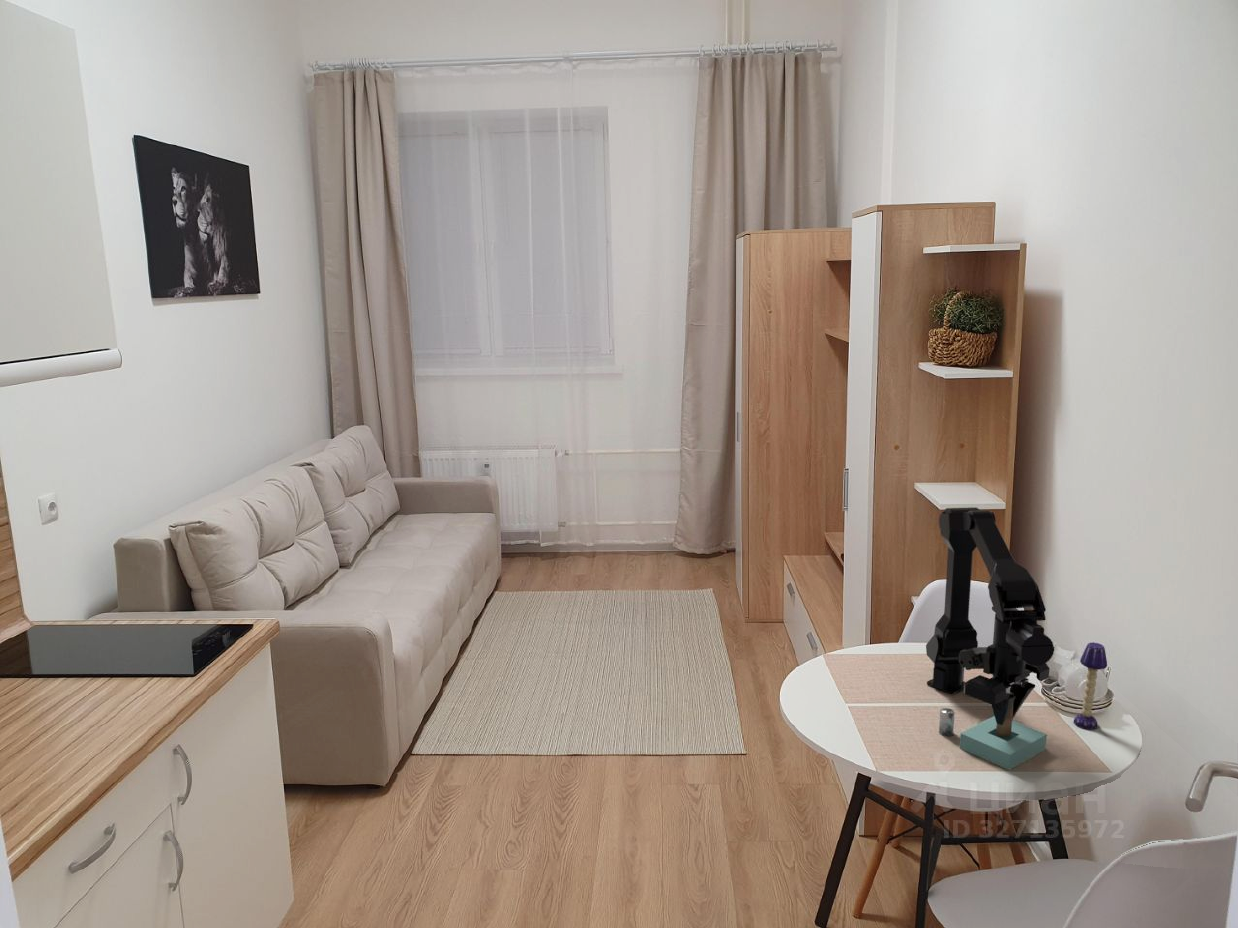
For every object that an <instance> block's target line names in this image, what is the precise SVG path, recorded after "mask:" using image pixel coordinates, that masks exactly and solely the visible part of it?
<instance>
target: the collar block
mask: <svg viewBox="0 0 1238 928" xmlns="http://www.w3.org/2000/svg"><path fill="white" fill-rule="evenodd" d="M996 725H997V723H996V719H995V716H994V715H993V716H991V717H990V718H987V719H986V720H983V721H982V722H979V723H978V724H976V725H974V726H972V727H970V728H968V729H966V730H964V731H962V732H961V733H960V734H959V735H960V736H959V737H960V738H959V749H961V750H963V751H966V752H968V753H971V754H972V755H974V756H977V757H979V758H981V759H983V760H986V761H987V762H990V763H993V764H994V765H997V766H999V767H1002V768H1003V769H1005V770H1008V771H1010V770H1011V769H1013V768H1015V767H1017V766H1018V765H1020V764H1023V763H1024V762H1026V761H1027V760H1029V759H1031V758H1033V757H1035V756H1036V755H1038V754H1039V753H1042V752H1043V751H1045V750H1046V748H1047V739H1048V738H1047V736H1048V734H1047V733H1045V732H1043V731H1039V730H1038V729H1035V728H1032V727H1030V726H1028V725H1025V724H1022V723H1020V722H1017V721H1015V720H1013V719H1012V729H1011V736H1010V737H1008V738H1004V737H1000V736H998V735H997V734H996Z"/></svg>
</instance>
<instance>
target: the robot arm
mask: <svg viewBox="0 0 1238 928" xmlns="http://www.w3.org/2000/svg"><path fill="white" fill-rule="evenodd" d="M938 525H939V529H940V537H941V538H942V540H943V541H944V543H945V546H947V559H946V560H947V563H946V575H945V576H946V577H945V579H946V580H945V592H944V593H945V594H944V597H945V598H944V612H943V614H942V615H941V617H940V618H939V620H938V621H937V622H936V624H934V625H935V626H934V632H933V633H934V634H933V636H931V638H930V639H929V640H928V642H927V643H926V645H925V649H926V656H927V658H929V659H930V660H931V662H932V663H933V669H932V670H933V672H932V674H933V675H932V679H930V680H927V681H926V684H927V685H928V686H931V687H933V688H935V689H937V690H941V691H943V692H945V693H948V694H951V695H954V694H956V693H959V692H961V691H963V694H964V695H966V696H967V697H970V698H973V699H976V700H978V701H981V702H982V703H985V704H987V705H988V704H989V705H991V709H992V713H993V716H995V719H996V723H997V724H1000V725H1003V723H1004V721H1005V719H1006V717H1007V715H1008V713H1009V710H1010V708H1011V706H1012V704H1013V716H1012V720H1013V719H1014V717H1015V716H1016V715H1017V713H1018V711H1019V709H1020V708H1021V707H1022V705H1023V703H1025V701H1026V700H1027V698H1028V697H1029V695H1030V694H1031V692H1032V691H1033V690H1034V689H1035V688H1036V684H1034V683H1032V682H1029V680H1030V679H1029V678H1028V677H1030V675H1031V673H1032V674H1036V679H1037V680H1038V681H1039V682H1042V681H1046V680H1047V679H1049V678H1050V671H1051V670H1050V667H1049V666H1048V664H1047V663H1048V662H1049V661H1050V660H1051V658H1052V657H1053V655H1054V653H1055V646H1054V642H1053V641H1052V639H1051V638H1050V637H1049V636H1047V635H1046V633H1045V628H1044V627H1043V626H1042V625H1040V624H1038V623H1037V622H1039V621H1046V619H1047V618H1046V613H1045V612H1046V606H1045V602H1044V600H1043V598H1042V594H1041V592H1040V589H1039V586H1038V583H1036V582H1037V581H1035V579H1034V578H1033V576H1032V575H1031V574H1030V572H1029V571H1028V569H1027V568H1025V567H1024V566H1022V565H1020V564H1018V563H1017V562H1016V560H1015V559H1014V558H1013V556H1012V553H1011V552H1010V549H1009V547H1008V545H1007V543H1006V541H1005V539H1004V537H1003V535H1002V534H1001V531H1000V530H999V527H998V525H997V523H996V516H995V513H994V512H993V511H991V510H988V509H985V510H981V509H980V508H978V507H977V506H976V507H972V506H971V507H947V508H945V509H944V511H942V512H941V513H940V514H939V517H938ZM976 548H977V551H978V552H979V553H980V557H981V558H982V561H983V563H984V565H985V567H986V569H987V571H988V574H989V582H988V585H987V590H988V595H989V599H990V601H991V604H992V606H991V610H992V611H993V612H994V613H995V615H994V625H993V627H994V628H993V641H992V644H990V645H988V646H983V647H982V646H979V645H978V644H979V641H978V639H977V638H978V637H977V636H978V632H977V630H976V629H975V628H974V625H973V624H972V623H971V621H970V620H969V618H970V617H969V614H970V599H971V597H970V596H971V586H972V584H971V582H972V569H973V555H974V554H973V553H974V551H975V550H976ZM1029 608H1033V609H1029ZM1020 609H1021V610H1020ZM965 670H966V671H970V670H982V672H983V673H984V674H986V675H992V677H990V678H989V677H986V676H983V675H981V674H980V675H977V676H975V677H973V678H971V679H969V680H968V679H967V681H964V677H965V675H964V674H965ZM1010 692H1011V693H1013V694H1014V695H1012V694H1010ZM1013 701H1014V703H1013Z"/></svg>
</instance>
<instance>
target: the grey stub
mask: <svg viewBox="0 0 1238 928" xmlns="http://www.w3.org/2000/svg"><path fill="white" fill-rule="evenodd" d="M954 726H955V710H954V709H951V708H949V707H946V708H945V707H944V708H940V710H939V727H938V733H939V734H940V735H941V736H944V737H952V736H953V735H954V729H955V728H954Z"/></svg>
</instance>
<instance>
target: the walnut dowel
mask: <svg viewBox="0 0 1238 928" xmlns="http://www.w3.org/2000/svg"><path fill="white" fill-rule="evenodd" d="M1010 694H1012V695H1014V694H1013V693H1011V692H1010ZM1013 703H1014V701H1013ZM1012 716H1013V704H1012V706H1011V708H1010V710H1009V713H1008V715H1007V717H1006V719H1005V721H1004V723H1003V725H1000V724H997V725H996V734H997V735H998V736H1000V737H1004V738H1008V737H1010V736H1011V729H1012V720H1013V719H1012Z"/></svg>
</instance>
